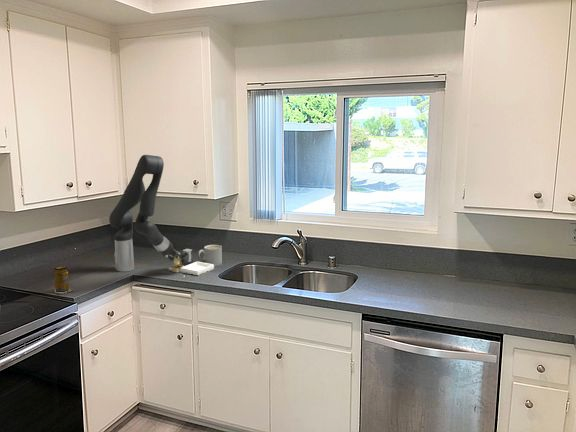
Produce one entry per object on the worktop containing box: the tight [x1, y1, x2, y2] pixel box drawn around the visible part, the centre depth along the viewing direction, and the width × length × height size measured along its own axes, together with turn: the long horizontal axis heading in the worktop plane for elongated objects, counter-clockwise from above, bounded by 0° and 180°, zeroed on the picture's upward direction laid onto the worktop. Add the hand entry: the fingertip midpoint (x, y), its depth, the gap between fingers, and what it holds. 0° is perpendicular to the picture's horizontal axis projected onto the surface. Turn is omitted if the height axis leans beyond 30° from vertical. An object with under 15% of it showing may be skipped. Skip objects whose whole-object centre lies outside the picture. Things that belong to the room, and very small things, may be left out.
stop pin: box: [173, 250, 181, 268], centre depth 254 cm, size 4×4×10 cm
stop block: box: [169, 264, 184, 273], centre depth 254 cm, size 6×6×2 cm
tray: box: [179, 260, 215, 276], centre depth 254 cm, size 12×14×2 cm
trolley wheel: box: [181, 248, 194, 266], centre depth 261 cm, size 4×7×10 cm, turn 151°
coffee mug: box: [197, 244, 223, 267], centre depth 266 cm, size 13×10×10 cm
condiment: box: [53, 265, 70, 292], centre depth 221 cm, size 7×8×12 cm
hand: (178, 260), depth 255 cm, fingers open, 8 cm apart
